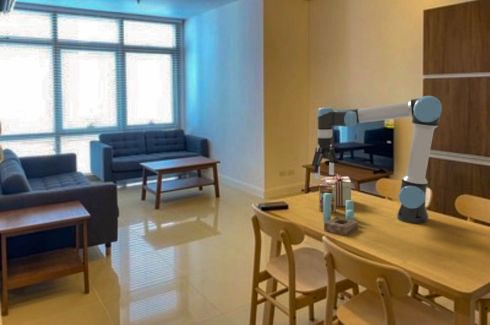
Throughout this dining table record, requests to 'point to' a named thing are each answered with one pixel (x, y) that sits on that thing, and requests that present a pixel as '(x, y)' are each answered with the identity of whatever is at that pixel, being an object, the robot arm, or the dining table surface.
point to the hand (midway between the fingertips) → (324, 176)
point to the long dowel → (326, 207)
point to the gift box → (340, 188)
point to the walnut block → (341, 226)
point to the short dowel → (350, 214)
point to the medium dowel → (349, 204)
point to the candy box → (327, 189)
